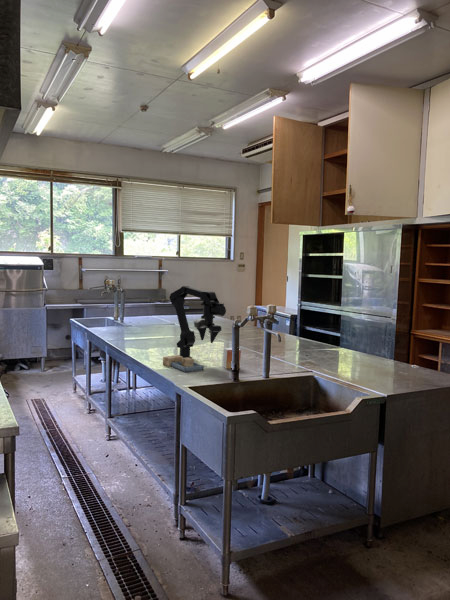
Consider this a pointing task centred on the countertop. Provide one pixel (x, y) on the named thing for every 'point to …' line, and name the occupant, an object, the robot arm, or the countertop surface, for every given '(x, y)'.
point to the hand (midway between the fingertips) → (206, 341)
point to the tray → (186, 369)
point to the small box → (229, 357)
